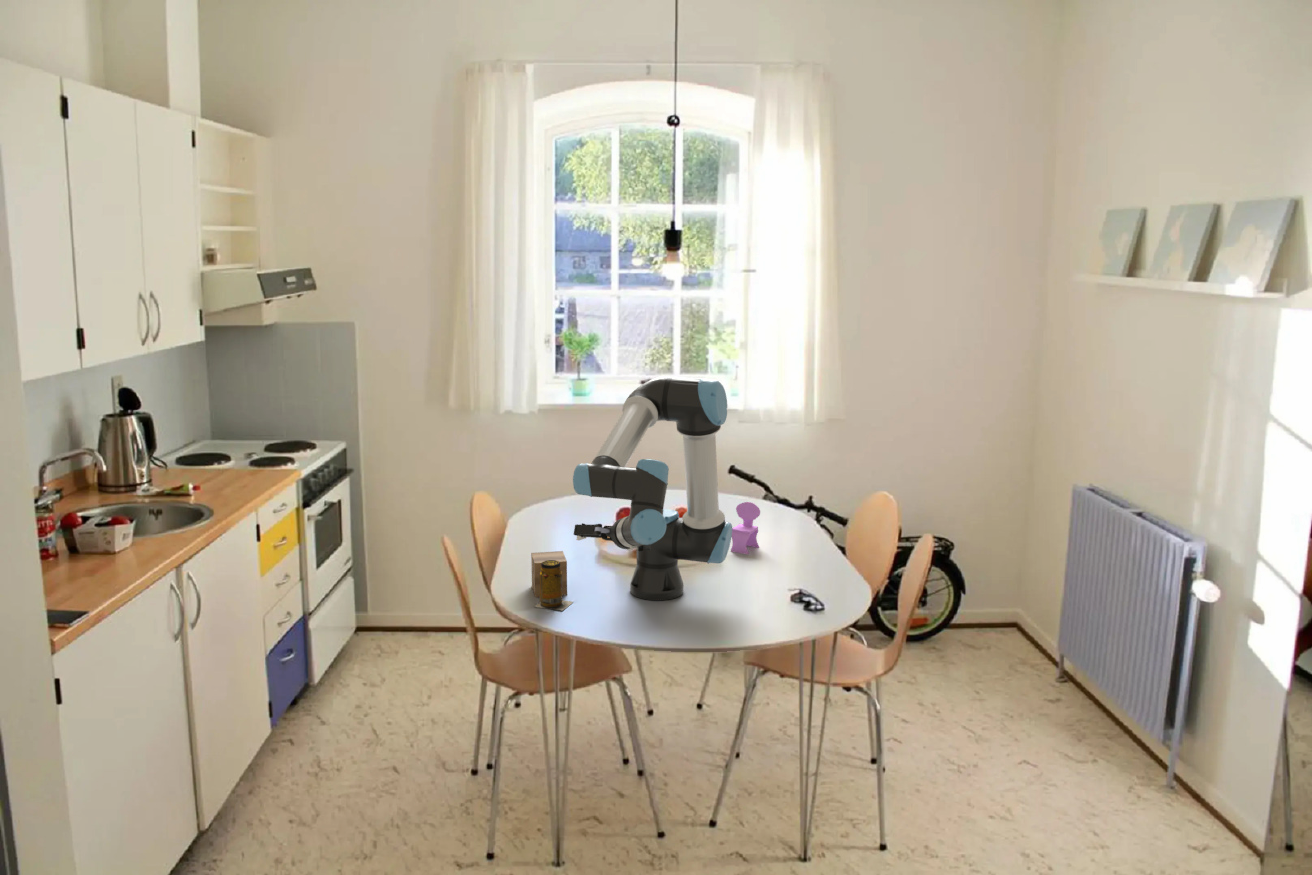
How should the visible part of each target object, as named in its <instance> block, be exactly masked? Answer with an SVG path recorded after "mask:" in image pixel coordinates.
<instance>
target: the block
mask: <svg viewBox="0 0 1312 875" xmlns="http://www.w3.org/2000/svg"><path fill="white" fill-rule="evenodd" d="M530 556H531V557H530V558H531V561H530V562H531V563H530V564H531V588H532V591H533V595H534V598H540V572H541V563H542V562H544V561H547V560H556V561H559V562H560V564H561V565H560V567H561V572H562V596H567V595H568V561H567V558H566V555H565V553H564V551H563V550H560V551H558V550H557V551H544V552H543V551H542V552H541V551H539V552H531V554H530Z"/></svg>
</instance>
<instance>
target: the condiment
mask: <svg viewBox="0 0 1312 875" xmlns="http://www.w3.org/2000/svg"><path fill="white" fill-rule="evenodd" d="M560 565H561V564H560V562H559V561H556V560H547V561H544V562H542V563H541V572H540V597H539V601H540V602H538V603H537V604H536V605H534V607H535V608H541V609H545V610H546V609H547V610H555V611H564V610H566V609H567V608H568V607H569V606H571V605H572V604H573V603H574V601H571V600H570V601H569V600H565V599H564V600H563V595H562V572H561V567H560Z"/></svg>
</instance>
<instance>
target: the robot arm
mask: <svg viewBox="0 0 1312 875" xmlns="http://www.w3.org/2000/svg"><path fill="white" fill-rule="evenodd" d="M621 410H622V413H621V415H620V417H619V418H618V420H617V422H616V423H615V425H614V426H613V428H612V429H611V431H610V432H609V435H607V438H606V439H605V441H604V443H603V444H602V446H601V447H600V449H599V450H598V452H597V453H596V456H595V457H594V458H593V459H592V461H591V463H589V462H586V463H580V464H579V463H578V464H577V465H576V467H575V468H574V471H573V474H572V486H573V490H574V492H575V493H576V494H577V495H582V496H588V497H590V498H592V497H593V498H603V499H605V498H606V499H615V500H616V499H617V500H627V501H630V510H629V515H627V516H624V517H622V518H619V519H617V520H616V521H615V522H614V523H613V524H612V525H604V526H603V524H602V523H594V524H585V523H581V524H575V525H574V530H573V535H574V536H576V541H582V540H585V539H587V538H594V539H602V540H604V541H610V542H613V543H614V544H615V546H617V547H618V548H619V549H622V550H626V551H634V550H636V566H635V569H634V572H633V575H632V578H631V581H630V583H629V584H630V588H629V589H630V593H631V595H632V596H634V597H636V598H639V599H641V600H648V601H667V600H668V601H669V600H674V599H676V598H680V597H681V596H682V595H683V593H684V590H685V589H684V588H685V586H684V585H685V584H684V581H683V577H682V575H681V571H680V569H679V564H678V562H679V560H681V561H690V562H699V563H707V564H722V563H723V562H724V561H725V560H726V558H727V555H728V552H729V550H730V546H731V540H732V528H733V524H732V523H731V522H729V521H726V516H725V513H724V512H723V511H722V510H721V509H720V507H719V503H720V502H719V485H718V484H719V483H718V462H717V460H718V459H717V444H716V443H717V441H716V434H717V433H718V432H719V431H720V430H721V428H722V427H721V426H722V425H724V424H725V423H726V422H727V421H726V420H727V416H728V398H727V393H726V389H725V387H724V385H723V384H722V383H721V382H720V381H719V380H716V379H708V378H705V377H704V378H703V377H700V378H698V377H697V378H696V377H678V376H666V375H665V376H659V377H655V378H652V379H650V380H648V381H646V382H644V383H642V384H641V385H640V386H638V387H637V388H635V389H634V390H633V391H632V392H631V393H630V394H629V395H628V397H627V398H626V400H625V401H624V403H623V405H622V409H621ZM661 421H663V422H673V423H674V422H676V431H677V432H678V433H679V434H680V435H681V436H682V441H683V442H682V443H683V444H682V445H683V456H684V457H683V458H684V459H683V460H684V474H685V492H686V505H687V506H686V508H687V509H686V510H687V511H685V512H684V514H682V517H680V514H679V511H677V510H674V509H671V508H670V509H666V508H664V507H665V499H666V494H667V488H668V484H669V482H668V480H669V465H668V464H667V463H666V462H663V461H662V460H658V459H652V458H646V459H645V458H642V459H639V460H638V461H637V463H636V467H629V466H627V465H628V463H629V462H630V460H631V458H632V457H633V454H634V453H635V451H636V450H637V448H638V447H639V445H640V442H641V441H642V439H643V437H644V436H645V435H646V432H647V431H648V430H649V428H651V427H653V426H655V424H656V423H657V422H661Z"/></svg>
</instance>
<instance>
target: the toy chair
mask: <svg viewBox="0 0 1312 875" xmlns="http://www.w3.org/2000/svg"><path fill="white" fill-rule="evenodd" d="M735 511H736V514H737V516H738V517H739V518H740V519H742V521H743V523H739V524H737V525H736V526H734V527H732V537H731V540H732V543H731V544H732V546H731V549H730V552H733V553H738V554H745V555H750V553H749V550H748V548H747V546H748V547H754V548H760V546H759V543H758V540H757V537H758V532H759V527H758V526H757V525H754V524H753V523H754V520H756V519H757V518H758V517H760V515H761V510H760V508H759V506H758V505H757V504H755V503H754V502H750V501H746V502H745V501H744V502H740V503H739V504H737V506H736V508H735Z"/></svg>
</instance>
